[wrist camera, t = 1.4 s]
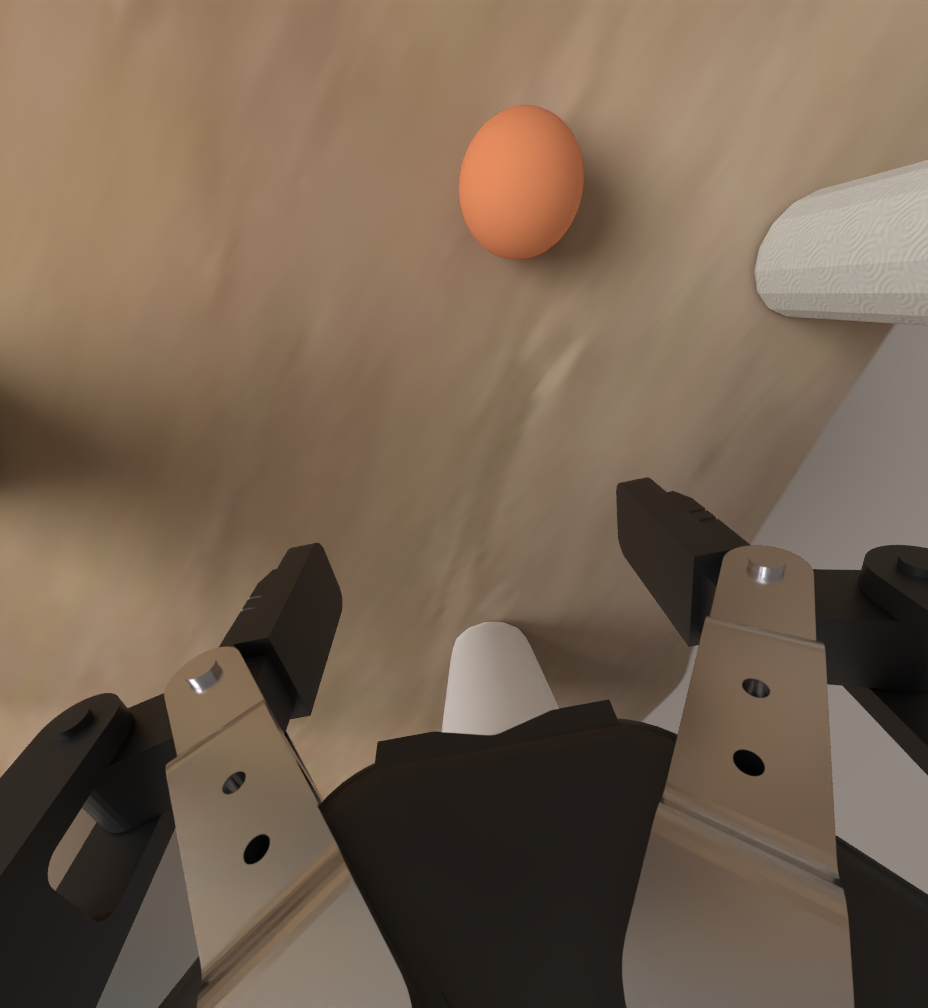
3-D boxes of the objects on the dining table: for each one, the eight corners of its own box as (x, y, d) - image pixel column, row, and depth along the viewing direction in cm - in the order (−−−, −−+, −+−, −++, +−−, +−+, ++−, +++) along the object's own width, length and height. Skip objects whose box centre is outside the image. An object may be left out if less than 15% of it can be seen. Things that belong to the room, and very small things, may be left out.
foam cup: (422, 617, 33) (415, 792, 22) (540, 595, 33) (597, 761, 21) (446, 699, 37) (451, 883, 26) (551, 681, 37) (603, 858, 25)
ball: (467, 273, 23) (476, 267, 18) (446, 145, 20) (449, 98, 16) (568, 251, 23) (605, 239, 18) (559, 119, 20) (598, 63, 15)
